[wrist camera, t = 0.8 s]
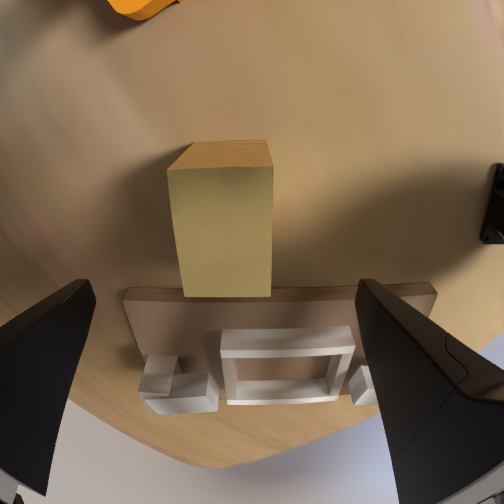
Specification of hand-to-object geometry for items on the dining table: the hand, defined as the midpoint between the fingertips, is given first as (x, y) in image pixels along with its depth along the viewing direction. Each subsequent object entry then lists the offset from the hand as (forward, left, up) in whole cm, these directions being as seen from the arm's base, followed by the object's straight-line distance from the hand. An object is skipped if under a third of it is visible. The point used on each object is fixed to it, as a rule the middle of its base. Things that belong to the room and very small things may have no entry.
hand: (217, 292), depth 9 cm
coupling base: (-3, +13, -9) cm, 16 cm away
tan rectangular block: (0, 0, -10) cm, 10 cm away
